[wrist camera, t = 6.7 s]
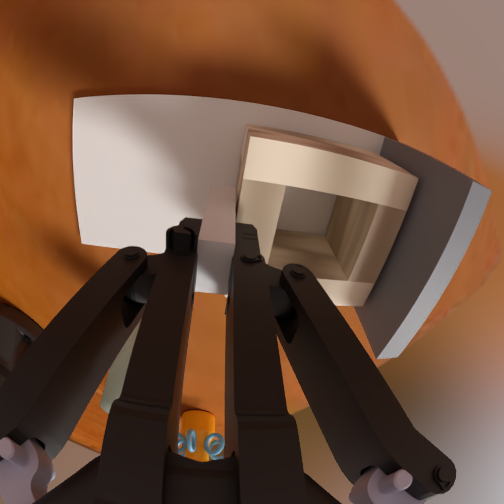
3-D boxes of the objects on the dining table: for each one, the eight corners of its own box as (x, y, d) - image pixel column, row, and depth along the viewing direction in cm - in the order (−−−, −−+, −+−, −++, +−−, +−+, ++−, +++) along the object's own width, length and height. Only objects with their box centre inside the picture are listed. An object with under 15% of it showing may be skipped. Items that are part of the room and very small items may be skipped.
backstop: (85, 239, 22) (28, 321, 13) (78, 97, 15) (-21, 122, 6) (353, 269, 26) (397, 357, 17) (399, 141, 19) (491, 191, 10)
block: (226, 247, 22) (224, 296, 17) (246, 123, 17) (250, 136, 12) (339, 260, 24) (362, 306, 19) (375, 152, 19) (418, 178, 14)
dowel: (133, 322, 28) (107, 415, 18) (128, 296, 26) (94, 396, 16) (166, 327, 29) (149, 425, 19) (165, 302, 27) (141, 407, 17)
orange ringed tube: (160, 400, 39) (151, 480, 27) (221, 401, 39) (221, 486, 27) (180, 425, 46) (176, 490, 33) (230, 426, 46) (232, 493, 34)
